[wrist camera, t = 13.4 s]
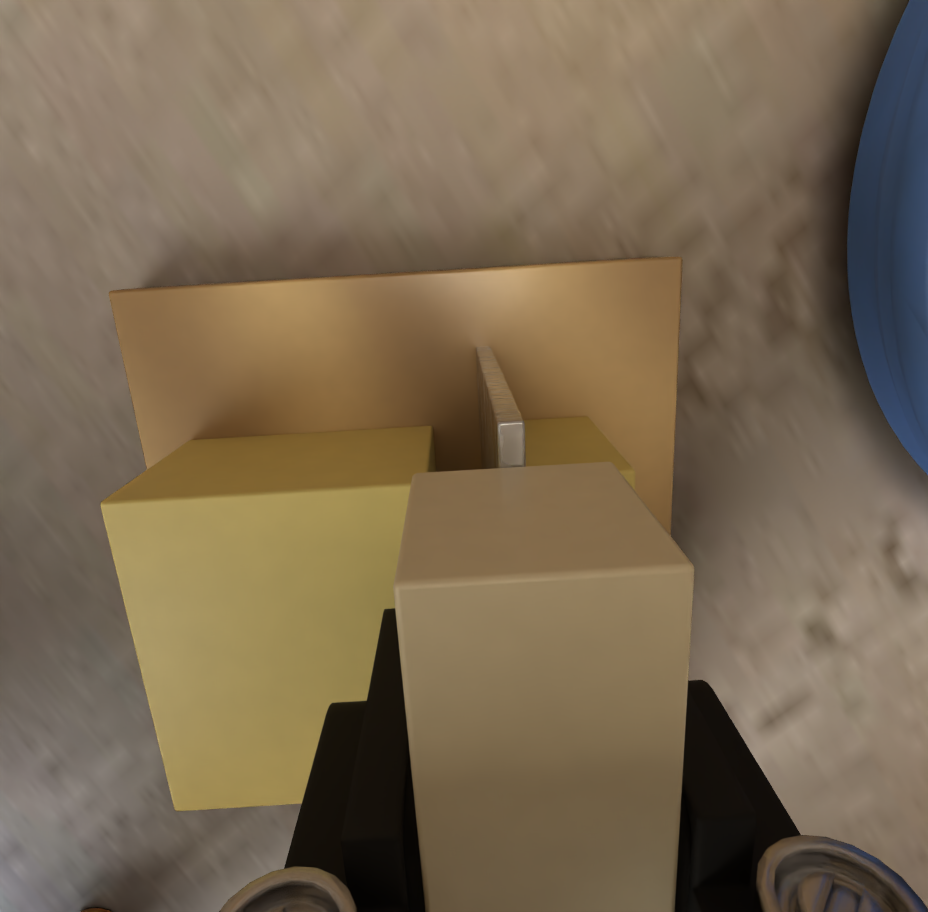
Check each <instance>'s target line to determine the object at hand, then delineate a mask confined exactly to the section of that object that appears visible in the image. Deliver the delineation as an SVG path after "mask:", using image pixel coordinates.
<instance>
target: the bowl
mask: <svg viewBox="0 0 928 912" xmlns="http://www.w3.org/2000/svg"><path fill="white" fill-rule="evenodd" d="M847 271H848V286H849V296H850V304H851V312H852V318H853V324H854V329H855V334H856V339H857V343H858V347H859V351H860V355H861V358H862V362H863V365H864V368H865V371H866V374H867V377H868V380H869V383H870V385H871V388H872V390H873V392H874V395H875V397H876V399H877V402H878V404H879V406H880V408H881V410H882V411H883V413H884V415H885V417H886V419H887V421H888V423H889V425H890V426H891V428H892V429H893V431H894V432H895V434H896V436H897V437H898V439H899V440H900V442H901V443H902V445H903V446H904V448H905V449H906V450H907V451H908V453H909V454H910V455H911V456H912V458H913V459H914V460H915V461H916V463H917V464H918V465H919V466H920V467H921V468H922V469H923V470H924V472H925V473H926V474H927V475H928V0H909V2H908V4H907V7H906V9H905V11H904V13H903V15H902V17H901V20H900V22H899V24H898V26H897V29H896V31H895V34H894V36H893V39H892V41H891V44H890V47H889V49H888V52H887V54H886V57H885V59H884V62H883V65H882V67H881V70H880V73H879V76H878V79H877V82H876V85H875V88H874V90H873V94H872V97H871V101H870V105H869V108H868V112H867V116H866V119H865V123H864V127H863V130H862V135H861V139H860V144H859V149H858V154H857V159H856V164H855V169H854V175H853V182H852V188H851V197H850V206H849V216H848V236H847Z"/></svg>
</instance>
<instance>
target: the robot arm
mask: <svg viewBox="0 0 928 912" xmlns="http://www.w3.org/2000/svg"><path fill="white" fill-rule="evenodd" d="M219 912H426V911H425V901H424V891H423V881H422V871H421V861H420V851H419V841H418V831H417V821H416V811H415V801H414V791H413V781H412V771H411V761H410V751H409V741H408V731H407V721H406V711H405V701H404V691H403V681H402V671H401V661H400V651H399V641H398V631H397V621H396V611H395V608H392V609H384V612H383V617H382V622H381V627H380V633H379V638H378V643H377V649H376V654H375V659H374V665H373V670H372V675H371V681H370V686H369V691H368V697H367V701H353V702H336V703H331V704H330V705H329V708H328V710H327V713H326V716H325V720H324V724H323V727H322V731H321V735H320V738H319V742H318V746H317V749H316V753H315V757H314V761H313V764H312V768H311V772H310V775H309V779H308V783H307V786H306V790H305V794H304V797H303V801H302V805H301V808H300V812H299V816H298V820H297V823H296V827H295V831H294V834H293V838H292V842H291V845H290V849H289V853H288V856H287V860H286V864H285V867H284V869H281V870H277V871H272V872H270V873H268V874H266V875H264V876H262V877H260V878H258V879H256V880H254V881H252V882H250V883H249V884H247V885H246V886H245V887H244V888H242V889H241V890H240V891H239V892H237V893H236V894H235V895H234V896H232V897H231V898H230V899H229V900H228V901H227V902H226V904H225V905H224V906H223V907H222V909H221V910H220V911H219ZM675 912H928V908H927V907H926V906H925V904H924V903H923V901H922V900H921V899H920V898H919V897H918V895H917V894H916V893H915V892H914V891H913V890H912V889H911V887H910V886H909V885H908V884H907V883H906V882H905V881H904V879H903V878H902V877H901V876H899V875H898V874H897V873H895V872H894V871H893V870H892V869H890V868H889V867H888V866H886V865H885V864H884V863H883V862H881V861H880V860H879V859H877V858H875V857H874V856H872V855H870V854H868V853H866V852H864V851H862V850H860V849H859V848H857V847H855V846H853V845H850V844H847V843H844V842H841V841H837V840H834V839H831V838H828V837H820V836H810V835H801V834H800V833H799V831H798V829H797V828H796V826H795V824H794V823H793V821H792V819H791V818H790V816H789V814H788V813H787V811H786V809H785V808H784V806H783V805H782V803H781V801H780V800H779V798H778V796H777V795H776V793H775V791H774V790H773V788H772V786H771V785H770V783H769V781H768V780H767V778H766V776H765V775H764V773H763V772H762V770H761V768H760V767H759V765H758V763H757V762H756V760H755V758H754V757H753V755H752V753H751V752H750V750H749V748H748V747H747V745H746V744H745V742H744V740H743V739H742V737H741V735H740V734H739V732H738V730H737V729H736V727H735V725H734V724H733V722H732V720H731V719H730V717H729V715H728V714H727V712H726V711H725V709H724V707H723V706H722V704H721V702H720V701H719V699H718V697H717V696H716V694H715V692H714V691H713V689H712V688H711V687H710V685H709V684H708V683H707V682H705V681H703V680H694V681H688V689H687V707H686V724H685V741H684V758H683V776H682V793H681V810H680V827H679V844H678V862H677V879H676V896H675Z"/></svg>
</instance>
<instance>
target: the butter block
mask: <svg viewBox="0 0 928 912" xmlns="http://www.w3.org/2000/svg"><path fill="white" fill-rule="evenodd" d="M427 472H436V461H435V448H434V434H433V427H432V426H415V427H398V428H382V429H365V430H348V431H332V432H315V433H299V434H282V435H265V436H249V437H232V438H216V439H199V440H189V441H188V442H186V443H185V444H183V445H182V446H180V447H179V448H178V449H176V450H175V451H173V452H172V453H170V454H169V455H168V456H166V457H165V458H163V459H162V460H160V461H159V462H158V463H156V464H155V465H153V466H152V467H150V468H149V469H147V470H146V471H145V472H143V473H142V474H140V475H139V476H137V477H136V478H135V479H133V480H132V481H130V482H129V483H127V484H126V485H125V486H123V487H122V488H120V489H119V490H117V491H116V492H115V493H113V494H112V495H110V496H109V497H107V498H106V499H105V500H103V501H102V502H101V504H100V506H101V510H102V514H103V518H104V523H105V527H106V531H107V535H108V539H109V543H110V547H111V551H112V555H113V559H114V563H115V568H116V572H117V576H118V580H119V584H120V588H121V592H122V596H123V600H124V604H125V608H126V613H127V617H128V621H129V625H130V629H131V633H132V637H133V641H134V645H135V649H136V653H137V658H138V662H139V666H140V670H141V674H142V678H143V682H144V686H145V690H146V694H147V698H148V703H149V707H150V711H151V715H152V719H153V723H154V727H155V731H156V735H157V739H158V743H159V747H160V752H161V756H162V760H163V764H164V768H165V772H166V776H167V780H168V784H169V788H170V792H171V797H172V801H173V805H174V809H175V810H176V811H189V810H205V809H222V808H238V807H254V806H271V805H287V804H302V801H303V797H304V794H305V790H306V786H307V783H308V779H309V775H310V772H311V768H312V764H313V761H314V757H315V753H316V749H317V746H318V742H319V738H320V735H321V731H322V727H323V724H324V720H325V716H326V713H327V710H328V708H329V705H330V704H331V703H336V702H353V701H367V697H368V691H369V686H370V681H371V675H372V670H373V665H374V659H375V654H376V649H377V643H378V638H379V633H380V627H381V622H382V617H383V612H384V609H392V608H395V600H394V590H393V585H394V579H395V574H396V568H397V562H398V556H399V550H400V545H401V539H402V533H403V527H404V522H405V516H406V510H407V504H408V498H409V493H410V487H411V481H412V477H413V475H414V474H416V473H427Z"/></svg>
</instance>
